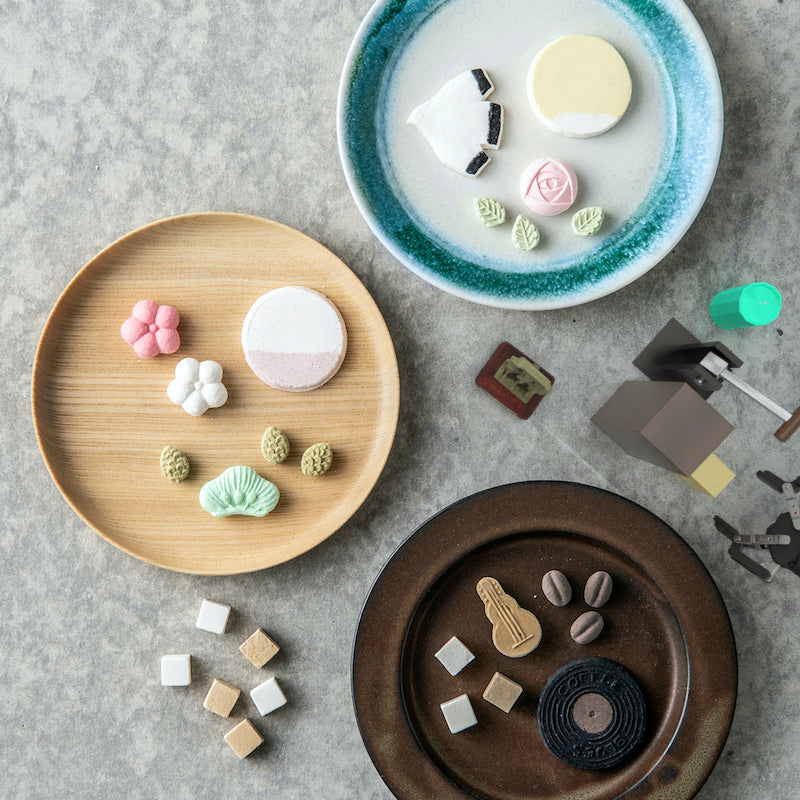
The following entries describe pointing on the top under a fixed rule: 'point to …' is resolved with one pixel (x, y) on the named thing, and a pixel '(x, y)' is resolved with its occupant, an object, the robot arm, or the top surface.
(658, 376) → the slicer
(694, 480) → the butter
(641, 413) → the stand
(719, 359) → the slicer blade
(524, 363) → the sculpture
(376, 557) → the top surface
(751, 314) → the candle
